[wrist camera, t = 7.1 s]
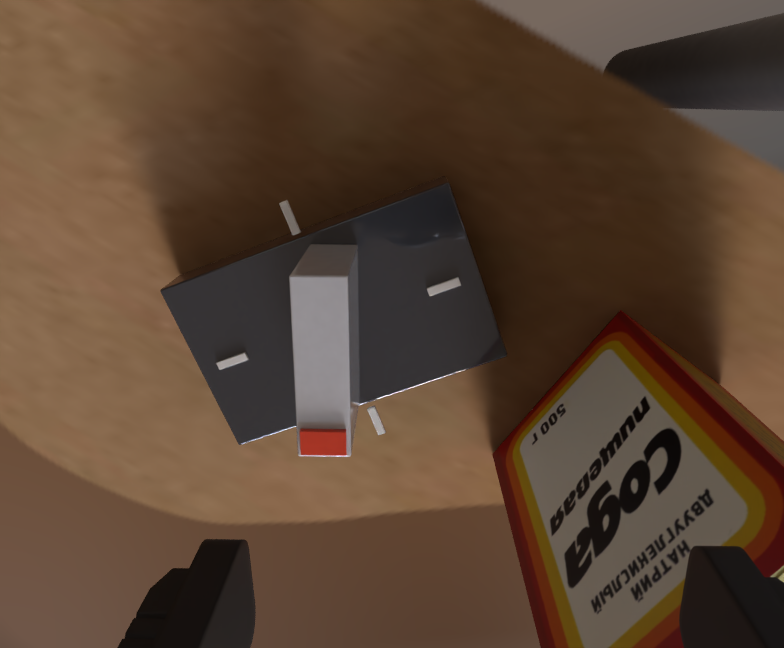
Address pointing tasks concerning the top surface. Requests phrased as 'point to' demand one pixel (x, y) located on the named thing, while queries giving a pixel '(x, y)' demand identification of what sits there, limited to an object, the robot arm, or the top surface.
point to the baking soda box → (634, 491)
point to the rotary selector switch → (376, 308)
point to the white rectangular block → (326, 348)
